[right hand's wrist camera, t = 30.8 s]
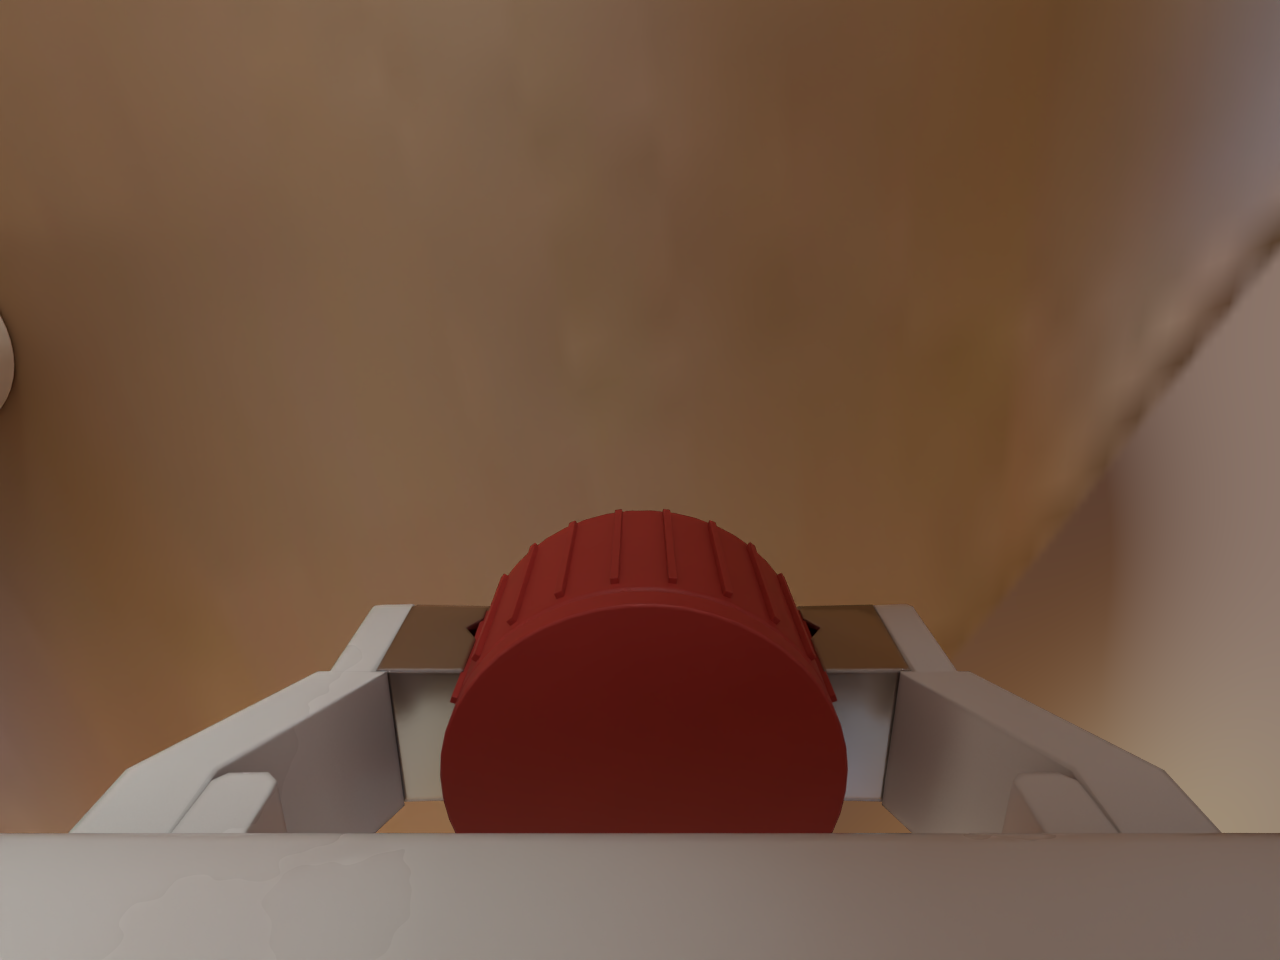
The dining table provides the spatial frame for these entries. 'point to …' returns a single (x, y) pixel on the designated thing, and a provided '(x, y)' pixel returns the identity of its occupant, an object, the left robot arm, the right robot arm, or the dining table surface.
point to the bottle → (5, 363)
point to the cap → (643, 692)
